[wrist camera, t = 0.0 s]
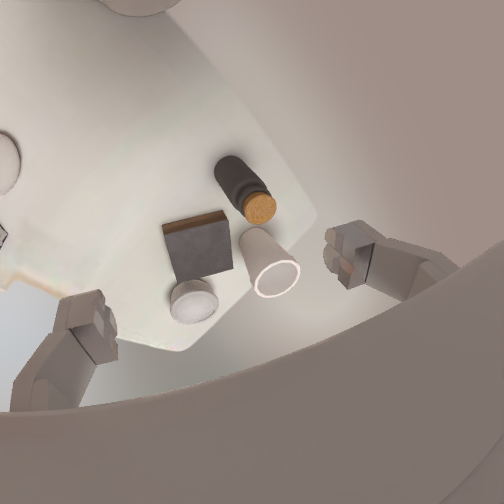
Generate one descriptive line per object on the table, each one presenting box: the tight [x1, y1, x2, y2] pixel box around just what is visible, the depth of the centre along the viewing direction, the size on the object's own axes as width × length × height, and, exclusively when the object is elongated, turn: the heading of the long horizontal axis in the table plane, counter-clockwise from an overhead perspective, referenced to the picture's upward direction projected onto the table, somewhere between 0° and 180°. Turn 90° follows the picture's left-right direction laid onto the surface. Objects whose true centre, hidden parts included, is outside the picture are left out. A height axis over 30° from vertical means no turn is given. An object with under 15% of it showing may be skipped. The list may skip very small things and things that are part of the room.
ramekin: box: [170, 279, 219, 325], centre depth 62 cm, size 11×11×5 cm
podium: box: [162, 210, 233, 284], centre depth 55 cm, size 12×12×4 cm
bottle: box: [214, 156, 276, 225], centre depth 44 cm, size 6×6×15 cm
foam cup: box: [239, 228, 301, 298], centre depth 56 cm, size 10×9×13 cm
